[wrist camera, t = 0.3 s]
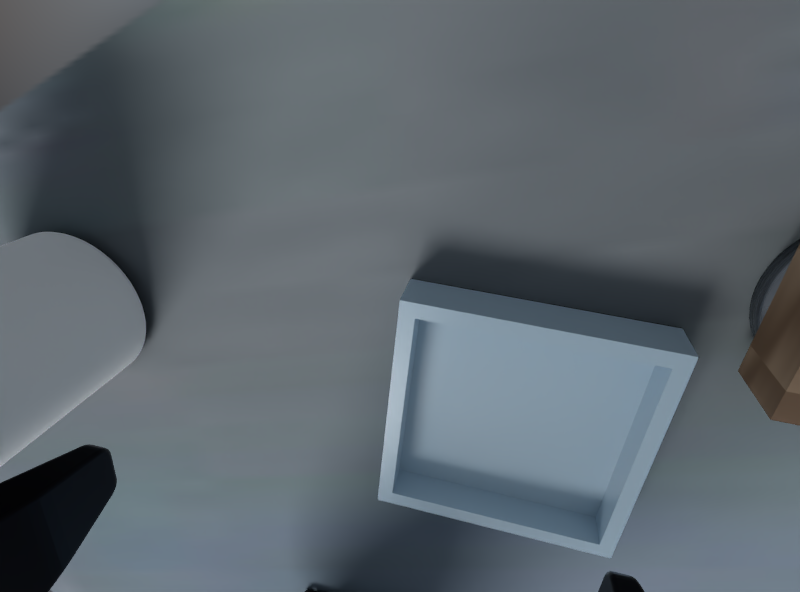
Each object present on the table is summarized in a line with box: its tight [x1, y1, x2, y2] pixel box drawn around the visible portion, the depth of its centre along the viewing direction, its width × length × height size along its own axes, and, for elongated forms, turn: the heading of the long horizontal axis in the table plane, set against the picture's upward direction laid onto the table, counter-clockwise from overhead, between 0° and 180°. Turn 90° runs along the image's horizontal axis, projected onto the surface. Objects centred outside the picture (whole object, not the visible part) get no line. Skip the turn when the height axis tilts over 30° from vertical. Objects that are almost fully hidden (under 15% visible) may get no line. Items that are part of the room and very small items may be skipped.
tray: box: [378, 279, 699, 558], centre depth 23 cm, size 11×11×2 cm
